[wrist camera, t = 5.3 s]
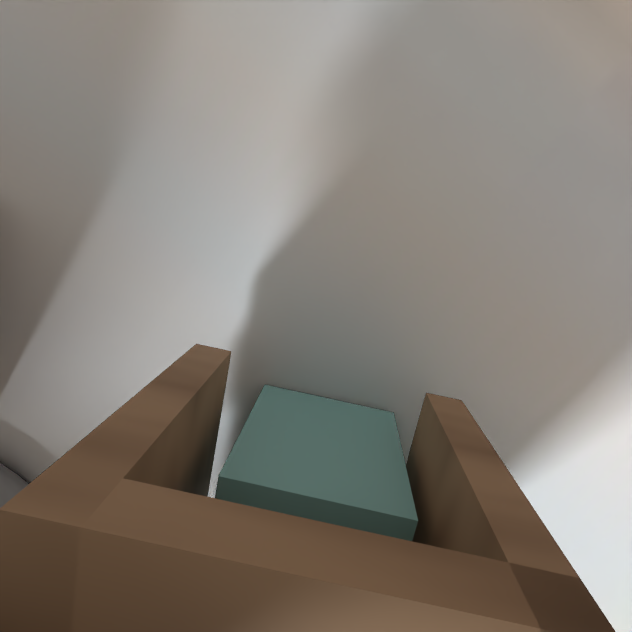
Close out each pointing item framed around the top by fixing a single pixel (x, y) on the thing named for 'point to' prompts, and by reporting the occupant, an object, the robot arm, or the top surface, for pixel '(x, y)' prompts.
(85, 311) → the top surface
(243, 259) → the top surface
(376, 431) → the block
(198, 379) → the cover
